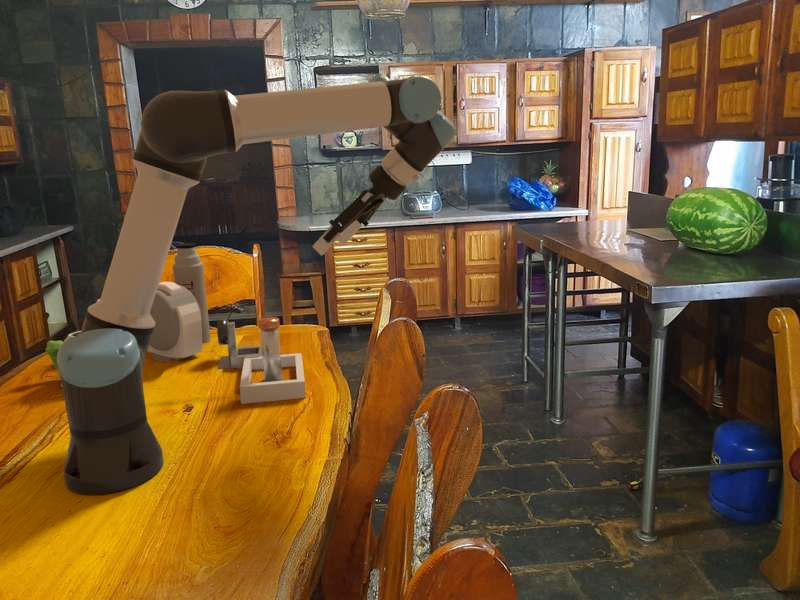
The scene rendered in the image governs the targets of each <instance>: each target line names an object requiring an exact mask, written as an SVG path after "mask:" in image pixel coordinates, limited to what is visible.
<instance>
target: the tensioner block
mask: <svg viewBox="0 0 800 600" xmlns="http://www.w3.org/2000/svg"><path fill="white" fill-rule="evenodd" d="M216 323H217V326H216V327H217V328H216V329H217V330H216V331H217V340H218V345H219V346H227V353H228V355H221V356H220V358H219V361H218V365H217V367H216V368H217V369H216V370H225V369H226V370H228V369H231V370H232V369H238V370H243V364H244V358H254V357H260V356H262V345H261V346H260V345H249V346H248V345H247V346H238V347H237V336H236V324H235V321H230V322H229V320H228V319H227V318H225V319H217V322H216Z"/></svg>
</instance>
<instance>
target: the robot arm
mask: <svg viewBox="0 0 800 600" xmlns="http://www.w3.org/2000/svg"><path fill="white" fill-rule="evenodd" d="M441 105H442V95H441V91H440V88H439V86H438V85H437V83H436V82H435V80H433V79H431V78H430V77H428V76H424V75H414V76H409V77H407V78H401V79H391V78H389V77H387V76H386V75H385V74H383V73H380V72H379V73H377V74H375V75H373V76H372V78H371V79H369V80H368V82H362V83H359V82H358V83H351V84H349V83H348V84H341V85H340V84H339V85H331V86H330V85H329V86H320V87H310V88H301V89H300V88H299V89H290V90H280V91H271V92H270V91H269V92H259V93H250V94H239V95H234V94H232V93H231V92H229V91H228V90H227V89H221V90H209V91H208V90H207V91H205V90H204V91H203V90H202V91H201V90H199V91H196V90H195V91H194V90H193V91H192V90H169V91H165V92H162V93H159V94H157V95H155V97H153V98H152V99H150V101H149V102H148V104H146V105H145V107H144V110H143V112H142V114H141V121H140V128H141V129H140V131H139V136H138V139H137V142H136V146H135V150H134V153H133V156H132V162H133V165H134V167H135V168H136V170H137V177H136V180H135V183H134V185H133V186H134V187H133V190H132V193H131V197H130V199H129V203H128V206H127V209H126V212H125V216H124V220H123V222H122V227H121V230H120V233H119V236H118V240H117V243H116V246H115V249H114V253H113V257H112V260H111V263H110V266H109V269H108V273H107V275H106V280H105V282H104V285H103V289H102V293H101V296H100V298H99V299H100V301H98V302H97V301H96V302H95V303H93V304H91V305H89V306H88V308H87V309H86V314H85V316H84V320H83V323H82V327H81V329H80V331H81V333H80V334H77V335H76V337H71V338H69V339H68V340H66V341H65V342H64V341H63V342H64V343H63V344H62V345H61V347H60V349H59V352H58V358H59V360H58V369H59V371H58V373H60V375H61V378H60V379H61V383H62V386H63V388H62V392H63V398H64V403H65V410H66V415H67V423H68V428H69V434H70V435H69V436H70V438H69V439H70V440H69V442H68V443H69V444H68V449H67V452H66V457H65V462H64V467H63V477H64V481H65V486H66V488H68V489H69V490H70V491H72V492H74V493H77V494H80V495H81V494H82V495H106V494H112V493H117V492H121V491H124V490H128V489H131V488H134V487H136V486H139V485H141V484H143V483H146V482H147V481H148V480H150V479H152V478H153V477H154V476H156V475H157V474H158V473H159V472H160V471H161V470H162V468H163V466H164V454H163V448H162V446H161V444H160V442H159V440H158V439H157V437H156V435H155V433H154V432H153V428H152V427H151V425H150V424H149V422H148V421H149V420H148V417H147V416H148V415H147V408H146V401H145V391H144V385H143V373H144V365H145V359H146V356H147V354H148V353H147V352H148V347H149V344H150V340H151V337H152V334H153V330H154V327H155V321H154V319H153V318H152V316H151V315H150V311H151V307H152V304H153V301H154V298H155V294H156V291H157V288H158V285H159V283H161V282H160V281H161V277H162V274H163V272H164V268H165V265H166V261H167V259H168V256H169V253H170V249H171V247H172V246H171V245H172V243H173V240H174V239H173V238H174V236H175V233H176V230H177V226H178V223H179V220H180V216H181V214H182V210H183V207H184V203H185V201H186V197H187V194H188V191H189V190H190V188H193V187H194V186H196V185H198V184H200V182H201V179H202V175H203V173H204V169H205V166H206V163H207V159H208V158H210V157H211V158H212V157H215V156H217V155H218V156H219V155H223V154H228V153H235V152H238V151H239V150H240V149H241V147H242V146H243V145H248V144H249V145H250V144H256V143H257V144H258V143H263V142H272V141H280V140H281V141H282V140H288V139H294V138H295V139H296V138H304V137H311V136H319V135H326V134H327V135H328V134H334V133H336V134H337V133H342V132H343V133H344V132H351V131H358V130H366V129H367V130H368V129H375V128H383V129H385V131H387V132H388V133H390V134H391V135H392V136H393V137H394V138H395V139H396V140H398V142H397V143H395V145H394V146H393V147H392V148H391V149H390V151H389V152H387V153H386V155H385V156H384V157H383V158H382V160H381V163H378V164H377V165H376V167H375V168H374V169H373V170H372V171H371V172H370V173H369V175H368V178H369V181H370V182H371V184H372V187H370V188H366V189H364V190H362V192H361V193H360V195H358V196H357V198H356V199H355V200H354V201H352V202H351V203H350V204H349V205H348V206H347V207H345V209H344V210H343V211H342V212H341V213H339V215H337V217H336V218H335V219H330V220H329V221H328V222H329V224H330V226H329V227H328V228H327V229H326V230H325V232H324V233H323V234H322V235H321V236H320V237H319V238H318V239H317V241H316V242H314V244H313V245H311V246H312V248H313V249H314V250H315V252H317V253H318V254H319V255H320V256H321V257H322V256H323V255H325V253H326V252H327V251H328V250H330V248H331V247H332V246H333V244H335V242H336V241H338V242H339V244H340V245H341V246H345V245H347V243H348V242H349V241H350V240H351V239H352V237H354V235H356V233H357V232H358V231H359V230H361V228H362V227H363V226H364V228H365V227H367V226H368V225H369V222H370V220H371V218H372V217H373V216H374V215H375V213H376V212H377V211H378V210H379V208H380V207H381V206H382V204H384V202H385V201H386V199H389V200H392V201H395V200H397V199H398V198H399V197H400V196H401V194H403V192H405V191H406V187H407V186H409V185H411V183H412V182H413V181H414V180H415V181H419V179H420V176H418V175H420V174H421V172H423V171H424V169H426V168H427V166H429V164H430V163H431V162H432V161H433V160H434V159H435V158H436V157H437V156H438V155H439V154H440V153H441V152H442V151H444V150H445V148H446V147H447V145H448V144H449V143H450V142H451V141H452V139H454V137H455V135H456V133H457V129H456V127H455V125H454V123H453V122H452V121H451V120H450V119H449V117H447V116H446V115H445V114H444V113H443V112H442V111H440V108H441ZM368 221H369V222H368Z"/></svg>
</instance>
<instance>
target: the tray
mask: <svg viewBox="0 0 800 600" xmlns="http://www.w3.org/2000/svg"><path fill="white" fill-rule="evenodd" d="M302 355H303V354H302V352H300V353H288V354H287V353H286V354H280V356H281V368H289V367H295V371H296V372H295V373H296V379H286V380H284V379H283V380H281V381H273V382H265V381H264V382H254V383H253V382H252V383H251V380H252V371H255V370H263V357H262V356H260V357H254V358H244V364H243V369H241V370H242V371H241V377H240V385H239V393H240V394H239V395H240V403H241V405H244V404H245V405H246V404H256V403H264V402H265V403H266V402H276V401H287V400H288V401H289V400H296V399H297V400H298V399H305V398H307V394H306V393H307V392H306V380H305V373H304V372H305V371H304V364H303V356H302Z"/></svg>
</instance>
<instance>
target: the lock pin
mask: <svg viewBox="0 0 800 600" xmlns="http://www.w3.org/2000/svg"><path fill="white" fill-rule="evenodd" d="M257 322H258V329H259V330H260V343H261V346H262V357H263V369H262V370H263V378H264V379H263V381H264V382H273V381H283V373H282V367H281V356H280V355H281V344H280V331H279V327H280V325H281V324H280V318H279V317H276V316H269V317H268V316H266V317H262V318H259V319H258V321H257Z"/></svg>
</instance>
